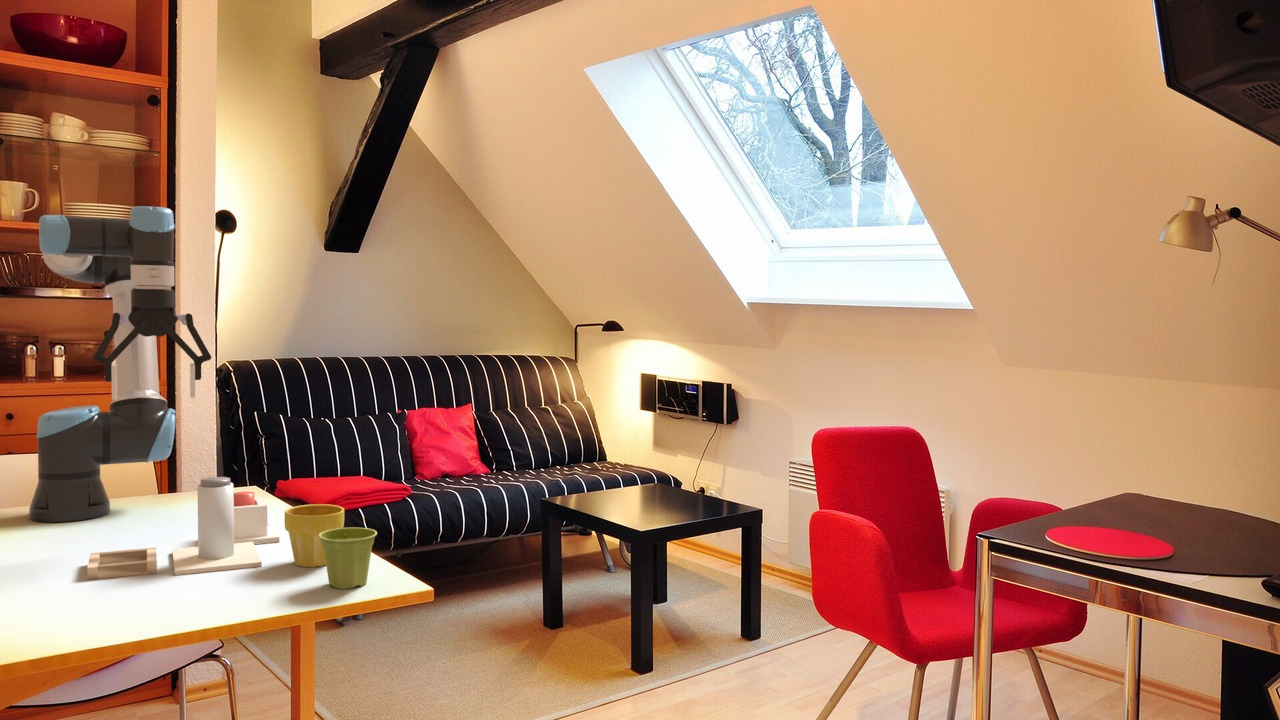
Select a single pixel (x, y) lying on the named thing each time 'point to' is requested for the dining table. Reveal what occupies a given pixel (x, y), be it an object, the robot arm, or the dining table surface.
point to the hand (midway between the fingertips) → (154, 398)
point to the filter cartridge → (215, 518)
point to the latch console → (253, 524)
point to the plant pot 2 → (347, 555)
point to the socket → (122, 563)
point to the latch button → (243, 498)
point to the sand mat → (191, 563)
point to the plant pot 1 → (311, 531)
